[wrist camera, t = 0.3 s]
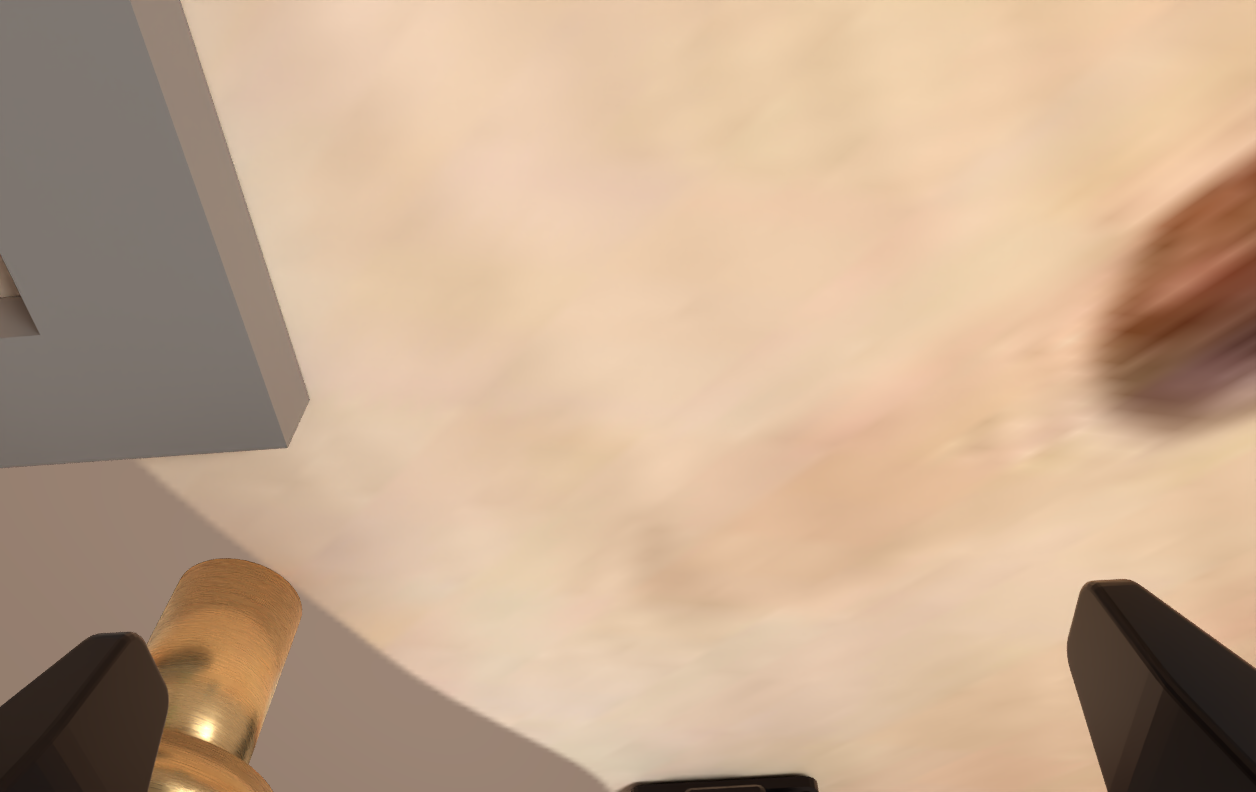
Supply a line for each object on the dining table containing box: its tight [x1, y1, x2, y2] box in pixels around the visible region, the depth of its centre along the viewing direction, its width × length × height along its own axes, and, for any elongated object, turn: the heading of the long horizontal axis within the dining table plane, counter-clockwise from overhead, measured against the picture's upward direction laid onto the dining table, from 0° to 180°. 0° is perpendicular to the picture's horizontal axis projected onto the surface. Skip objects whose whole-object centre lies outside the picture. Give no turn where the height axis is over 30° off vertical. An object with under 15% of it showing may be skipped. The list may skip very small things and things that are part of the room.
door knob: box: [147, 558, 302, 792], centre depth 26 cm, size 6×6×8 cm
